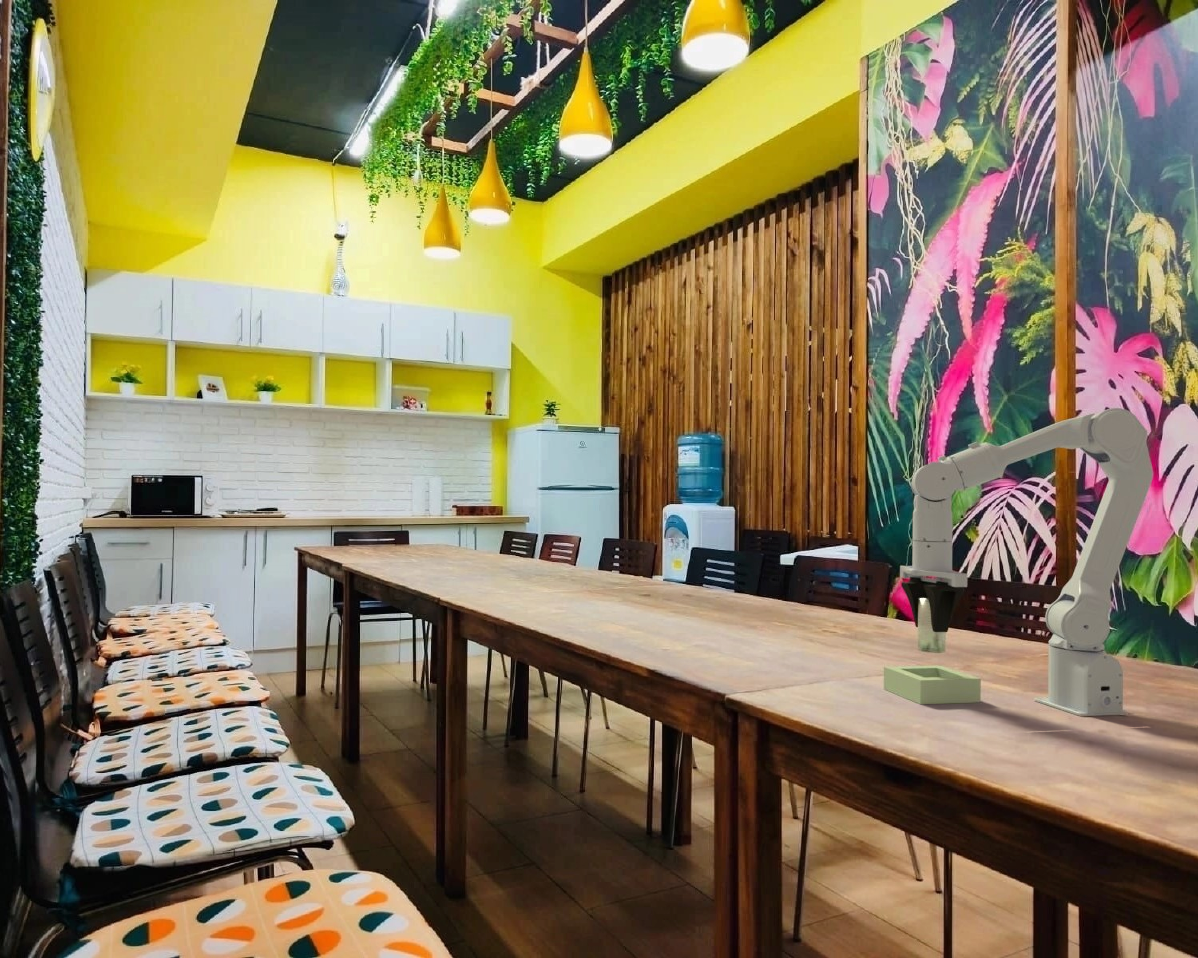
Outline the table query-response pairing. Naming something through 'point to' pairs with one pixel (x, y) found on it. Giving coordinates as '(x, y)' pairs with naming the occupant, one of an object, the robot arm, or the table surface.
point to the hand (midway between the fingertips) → (931, 629)
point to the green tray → (932, 684)
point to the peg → (928, 630)
